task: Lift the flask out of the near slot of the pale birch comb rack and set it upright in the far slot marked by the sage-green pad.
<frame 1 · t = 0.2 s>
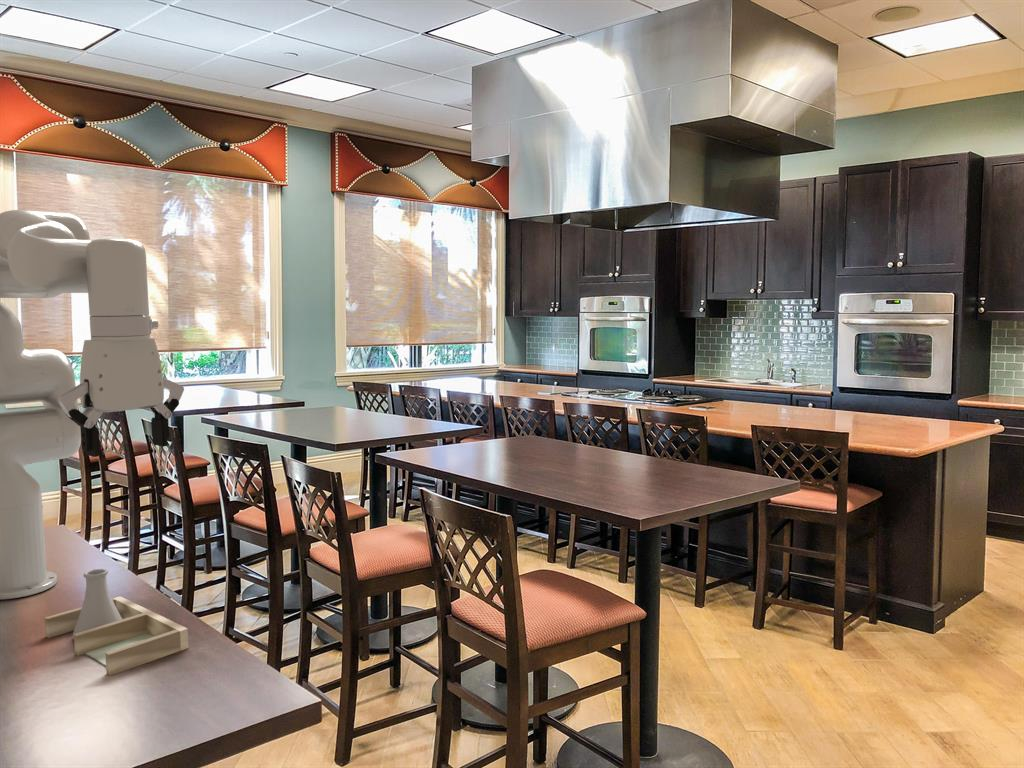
hand: (127, 450, 117), 30 cm above the table, fingers open, 9 cm apart
comb rack: (114, 642, 125), on the table
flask: (99, 635, 129), on the table
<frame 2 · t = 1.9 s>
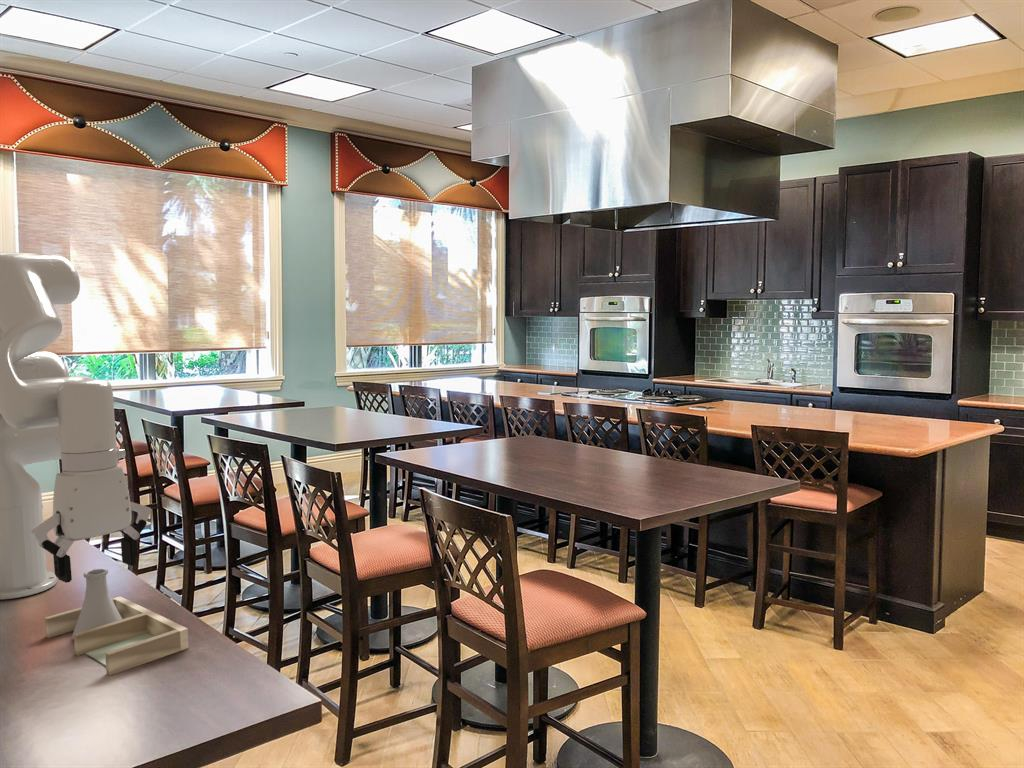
hand: (97, 572, 127), 10 cm above the table, fingers open, 9 cm apart
nothing on the table moved.
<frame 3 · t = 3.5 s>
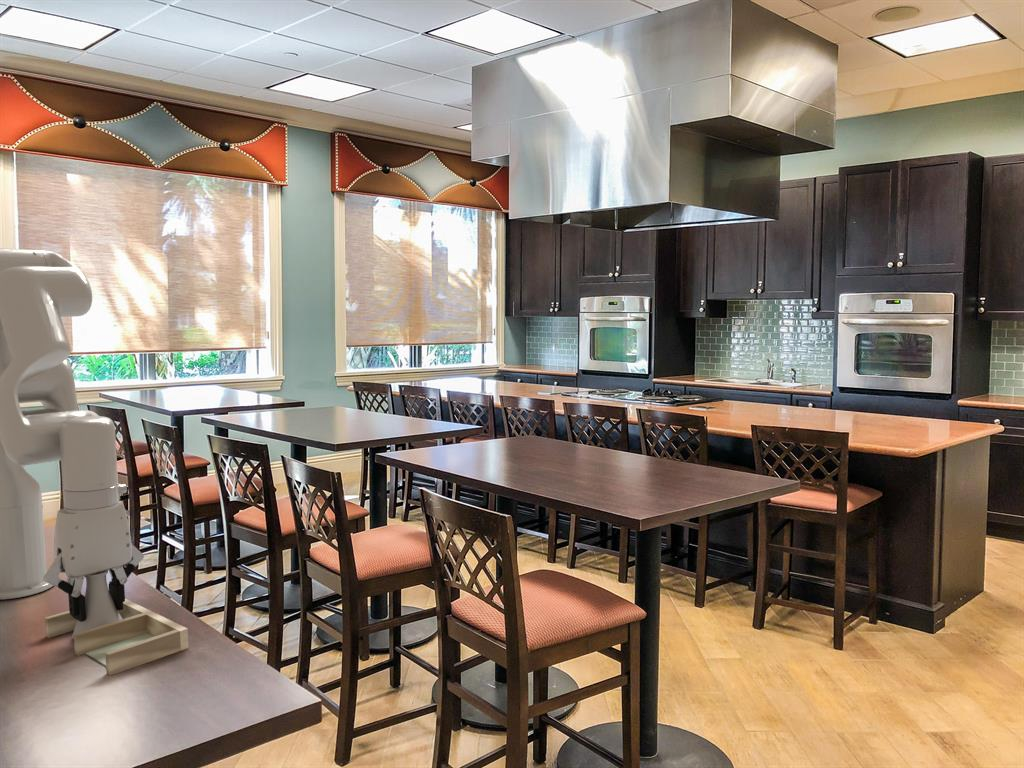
hand: (98, 612, 128), 3 cm above the table, fingers closed on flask, 5 cm apart
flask: (99, 635, 129), on the table, touching gripper
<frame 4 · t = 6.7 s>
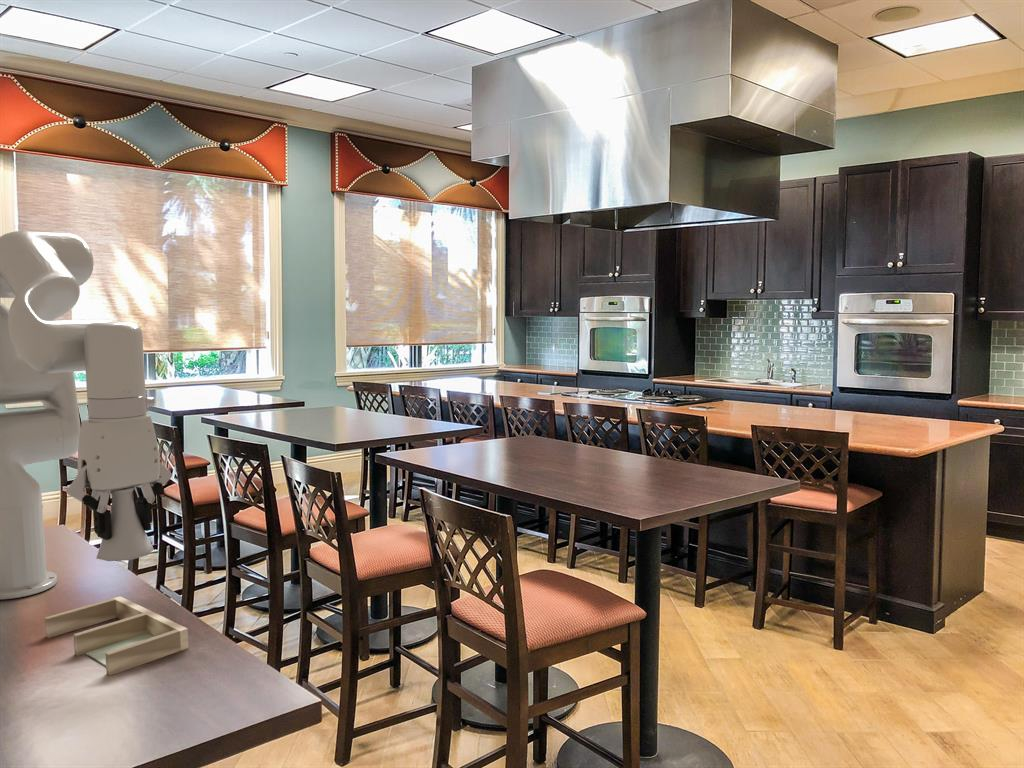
hand: (124, 532, 120), 18 cm above the table, fingers closed on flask, 5 cm apart
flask: (125, 557, 121), point 14 cm above the table, touching gripper
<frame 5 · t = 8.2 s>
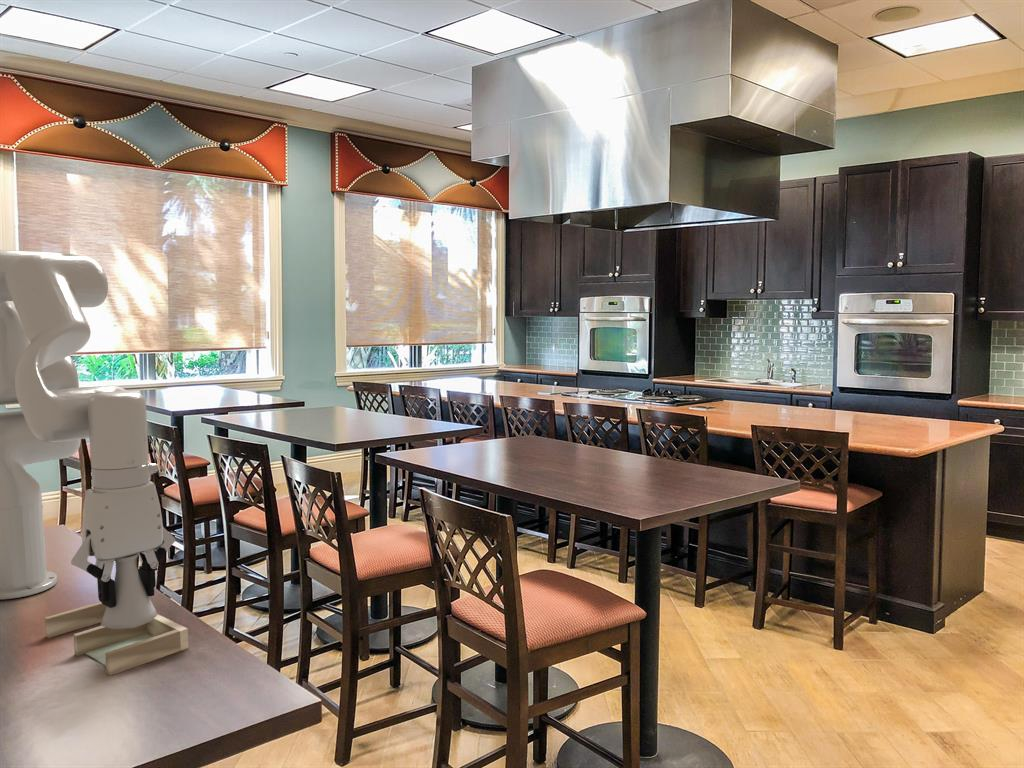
hand: (128, 598, 121), 8 cm above the table, fingers closed on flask, 5 cm apart
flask: (129, 623, 122), point 4 cm above the table, touching gripper
when the fingers open (5 cm above the table, at t = 9.7 s): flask stays where it is, resting on comb rack.
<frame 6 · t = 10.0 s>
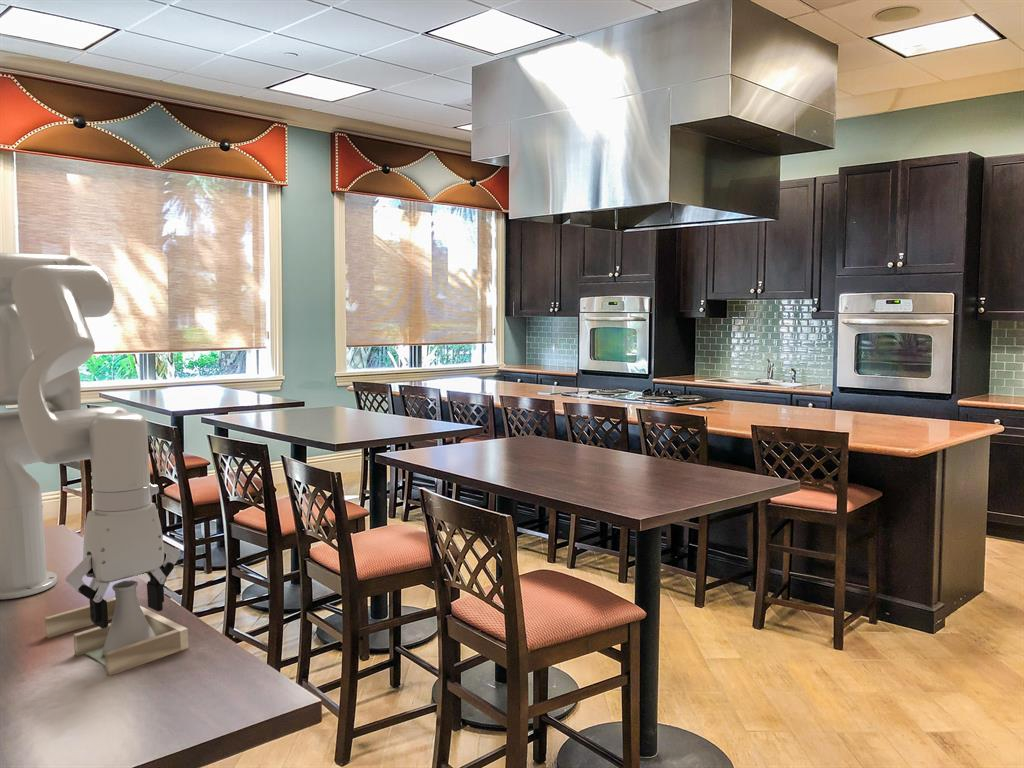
hand: (128, 616, 122), 5 cm above the table, fingers open, 7 cm apart
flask: (130, 650, 122), resting on comb rack
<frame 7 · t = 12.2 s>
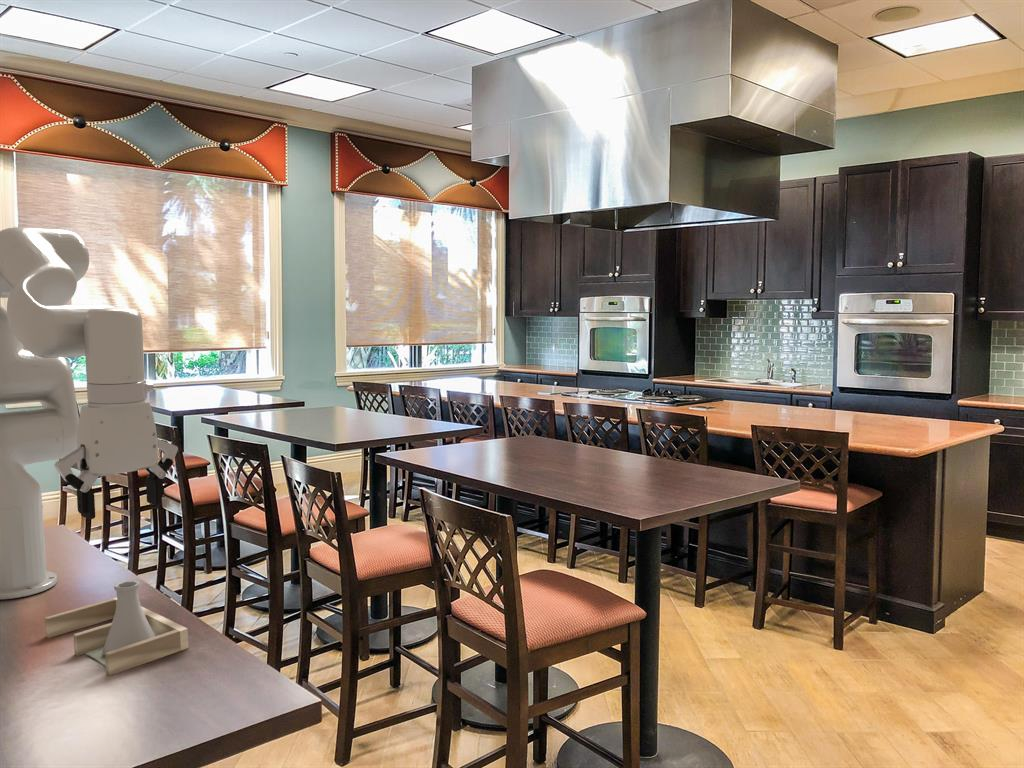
hand: (122, 510, 121), 21 cm above the table, fingers open, 9 cm apart
nothing on the table moved.
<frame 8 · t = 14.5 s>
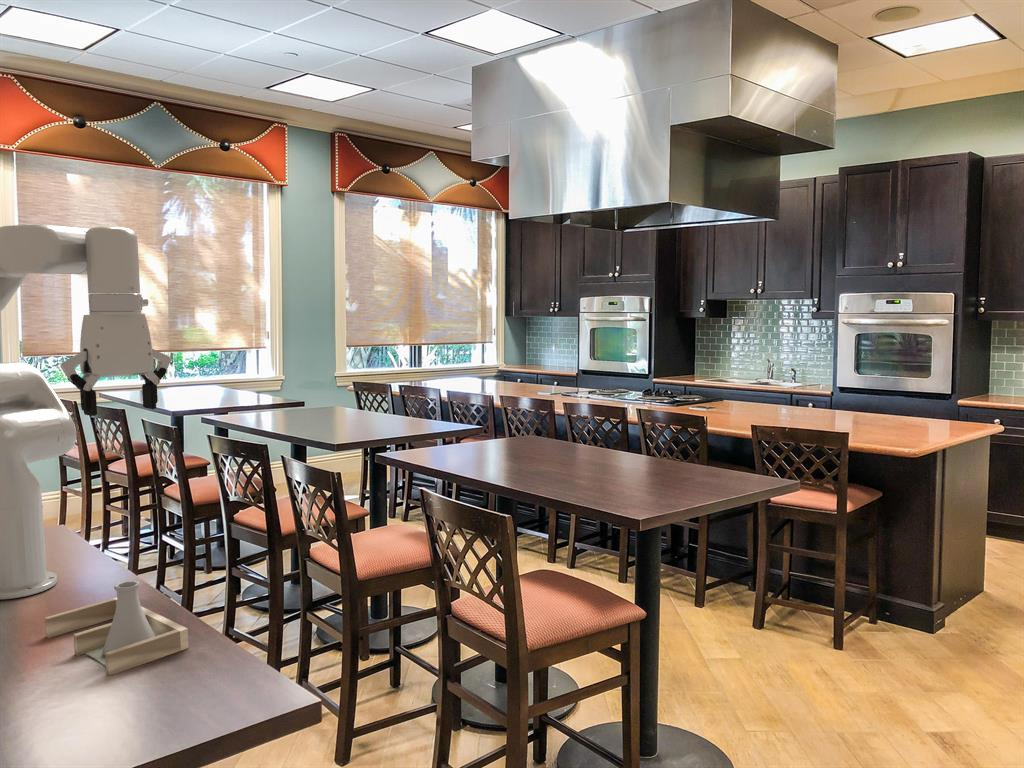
hand: (120, 411, 135), 33 cm above the table, fingers open, 9 cm apart
nothing on the table moved.
at the end: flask tilted 0°; the gripper is holding nothing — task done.
